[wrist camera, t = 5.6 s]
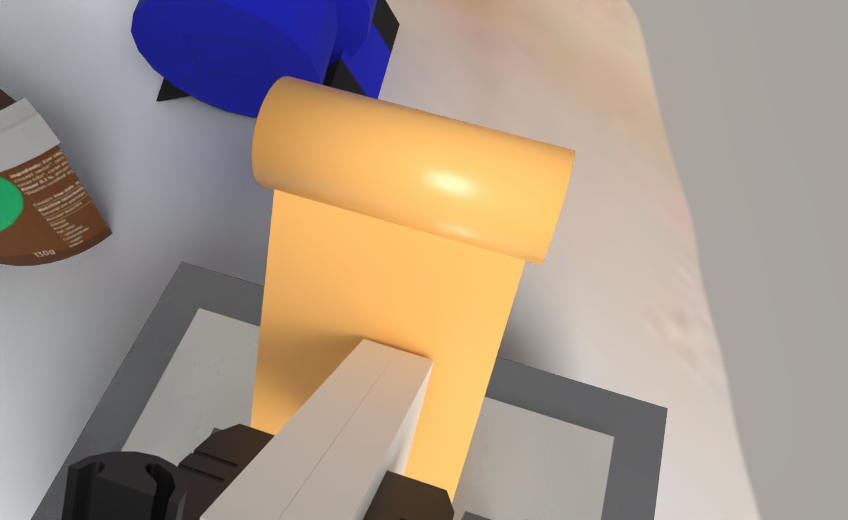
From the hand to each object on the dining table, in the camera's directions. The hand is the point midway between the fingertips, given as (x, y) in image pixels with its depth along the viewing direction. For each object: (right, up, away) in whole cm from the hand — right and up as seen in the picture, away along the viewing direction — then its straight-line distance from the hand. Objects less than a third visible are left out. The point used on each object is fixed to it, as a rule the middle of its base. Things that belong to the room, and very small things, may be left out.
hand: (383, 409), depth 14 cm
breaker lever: (-1, -4, +3) cm, 5 cm away
